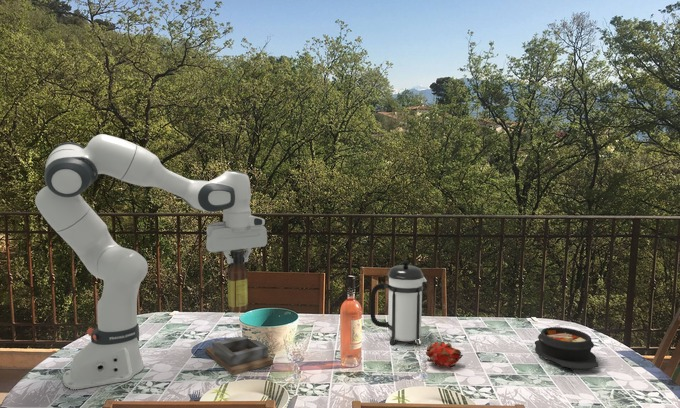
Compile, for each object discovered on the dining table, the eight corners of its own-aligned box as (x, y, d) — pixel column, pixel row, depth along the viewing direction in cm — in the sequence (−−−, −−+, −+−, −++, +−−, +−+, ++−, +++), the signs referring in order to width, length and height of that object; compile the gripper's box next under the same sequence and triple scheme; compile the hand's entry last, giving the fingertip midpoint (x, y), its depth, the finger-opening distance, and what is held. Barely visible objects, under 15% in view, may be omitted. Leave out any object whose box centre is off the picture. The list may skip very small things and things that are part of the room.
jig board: (232, 375, 149) (232, 359, 148) (205, 352, 166) (205, 338, 166) (273, 364, 157) (273, 349, 157) (243, 343, 175) (243, 329, 174)
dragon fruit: (421, 368, 158) (458, 374, 158) (427, 362, 151) (466, 369, 150) (423, 342, 162) (459, 348, 162) (428, 335, 155) (466, 341, 155)
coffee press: (402, 329, 190) (403, 253, 187) (433, 341, 177) (435, 260, 175) (368, 339, 179) (369, 259, 177) (399, 352, 167) (400, 266, 164)
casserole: (521, 345, 175) (522, 322, 174) (572, 344, 176) (573, 321, 175) (555, 375, 150) (556, 349, 149) (614, 374, 151) (615, 348, 150)
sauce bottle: (249, 307, 164) (251, 249, 162) (244, 313, 158) (246, 252, 156) (230, 306, 164) (232, 248, 163) (224, 311, 158) (226, 251, 156)
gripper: (210, 224, 149) (211, 268, 151) (269, 219, 162) (269, 260, 163) (202, 221, 154) (203, 264, 156) (260, 217, 167) (260, 257, 168)
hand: (237, 262), depth 159 cm, fingers closed on sauce bottle, 4 cm apart
